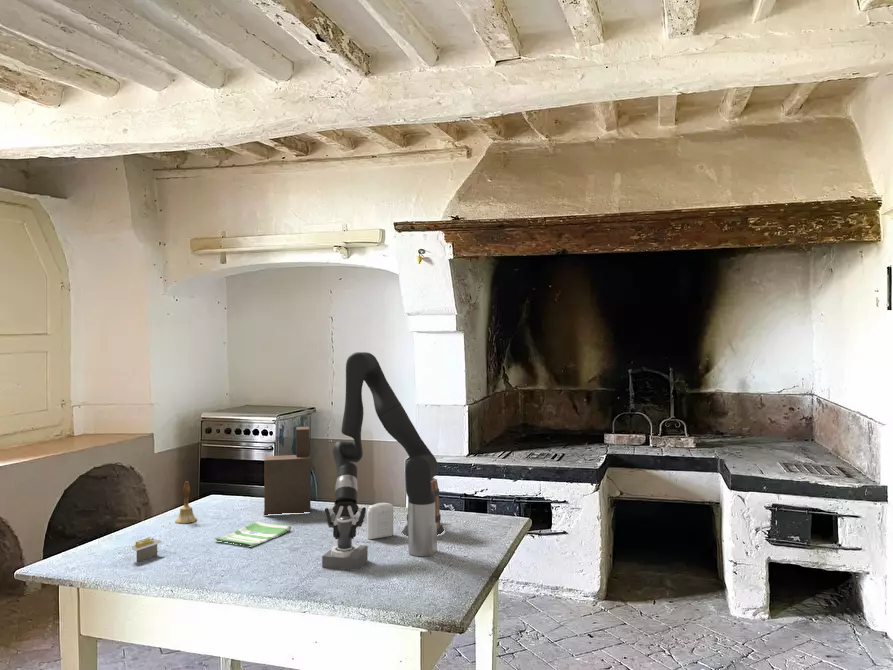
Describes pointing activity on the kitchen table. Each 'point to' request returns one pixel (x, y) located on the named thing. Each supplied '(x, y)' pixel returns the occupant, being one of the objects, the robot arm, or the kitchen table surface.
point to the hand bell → (186, 508)
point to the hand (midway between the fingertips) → (344, 537)
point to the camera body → (346, 558)
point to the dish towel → (251, 540)
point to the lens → (344, 533)
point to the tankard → (437, 512)
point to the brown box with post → (288, 479)
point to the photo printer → (379, 520)
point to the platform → (146, 548)
